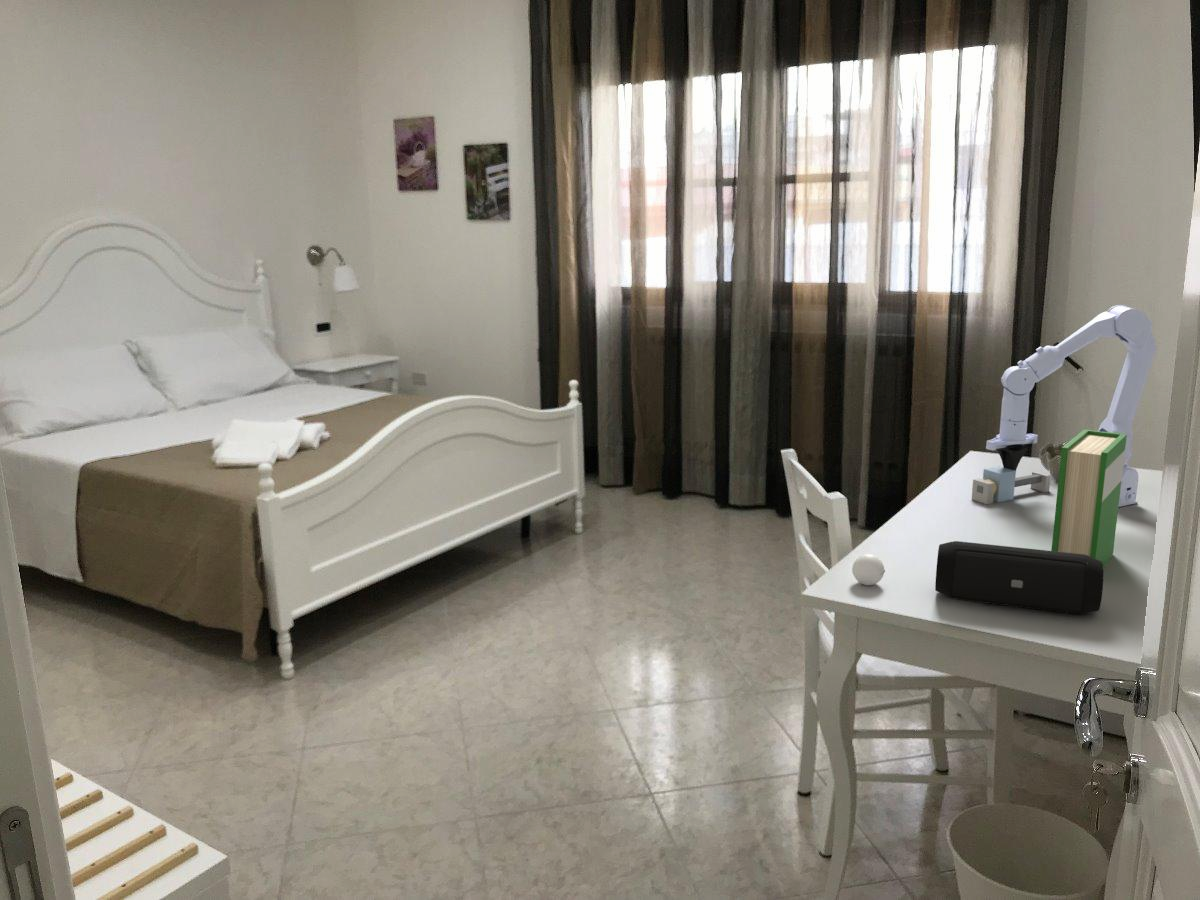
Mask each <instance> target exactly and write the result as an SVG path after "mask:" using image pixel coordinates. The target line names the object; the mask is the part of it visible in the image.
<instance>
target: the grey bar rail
mask: <svg viewBox="0 0 1200 900" xmlns="http://www.w3.org/2000/svg"><path fill="white" fill-rule="evenodd" d="M1027 485H1030V489H1032V490H1035V491H1039V492H1043V493H1047V492H1050V487H1051V474H1048V473H1044V472H1041V471H1040V472H1039V471H1037V470H1036V471H1032V472H1031V474H1030V475H1024V476H1017V477H1015V487H1014V488H1018V487H1022V486H1027ZM971 489H972V491H971V500H972V501H975V502H979V503H981V504H985V505H990V504H993V503H994V501H993V497H994V495H995V494H996V492H997V484H996V483H995V481H994V480H992V479H987V480H983V478H980V477H979V478H974V479H972V488H971Z"/></svg>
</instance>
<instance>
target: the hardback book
mask: <svg viewBox="0 0 1200 900" xmlns="http://www.w3.org/2000/svg"><path fill="white" fill-rule="evenodd" d="M1126 438H1127V434H1120V433H1111V432H1102V431H1098V430H1094V429H1093V430H1092V429H1083V430H1082V431H1081V432H1079V433H1078V434H1076V436H1074V437H1072V439H1070V440H1069V441H1068V442H1067V443H1066V444H1064V445H1063V446H1062V447H1061V452H1060V460H1059V461H1060V462H1059V471H1058V472H1059V474H1058V483H1057V491H1056V501H1055V511H1054V513H1055V514H1054V521H1053V529H1052V531H1053V532H1052V540H1051V550H1050V551H1056V552H1066V553H1075V554H1084V555H1088V556H1090V557H1092V558H1095V559H1097V560H1099V561H1101V562H1102V563H1103V569H1104V568H1105V567H1106V565H1107V564H1108V562H1109V560H1110V559H1111V558H1112V557H1113V555H1114V548H1115V538H1116V531H1117V530H1116V528H1117V523H1118V513H1119V507H1118V506H1119V497H1120V489H1121V480H1122V472H1123V463H1124V455H1125V446H1126Z"/></svg>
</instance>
